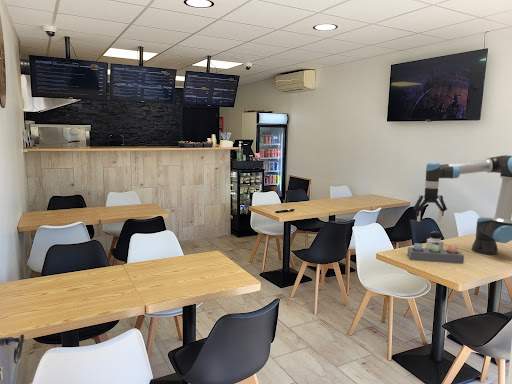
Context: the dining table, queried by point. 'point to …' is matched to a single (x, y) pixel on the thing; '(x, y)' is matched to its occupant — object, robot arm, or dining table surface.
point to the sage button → (435, 248)
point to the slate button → (418, 247)
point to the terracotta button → (452, 249)
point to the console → (435, 256)
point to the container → (435, 240)
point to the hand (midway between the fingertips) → (429, 221)
